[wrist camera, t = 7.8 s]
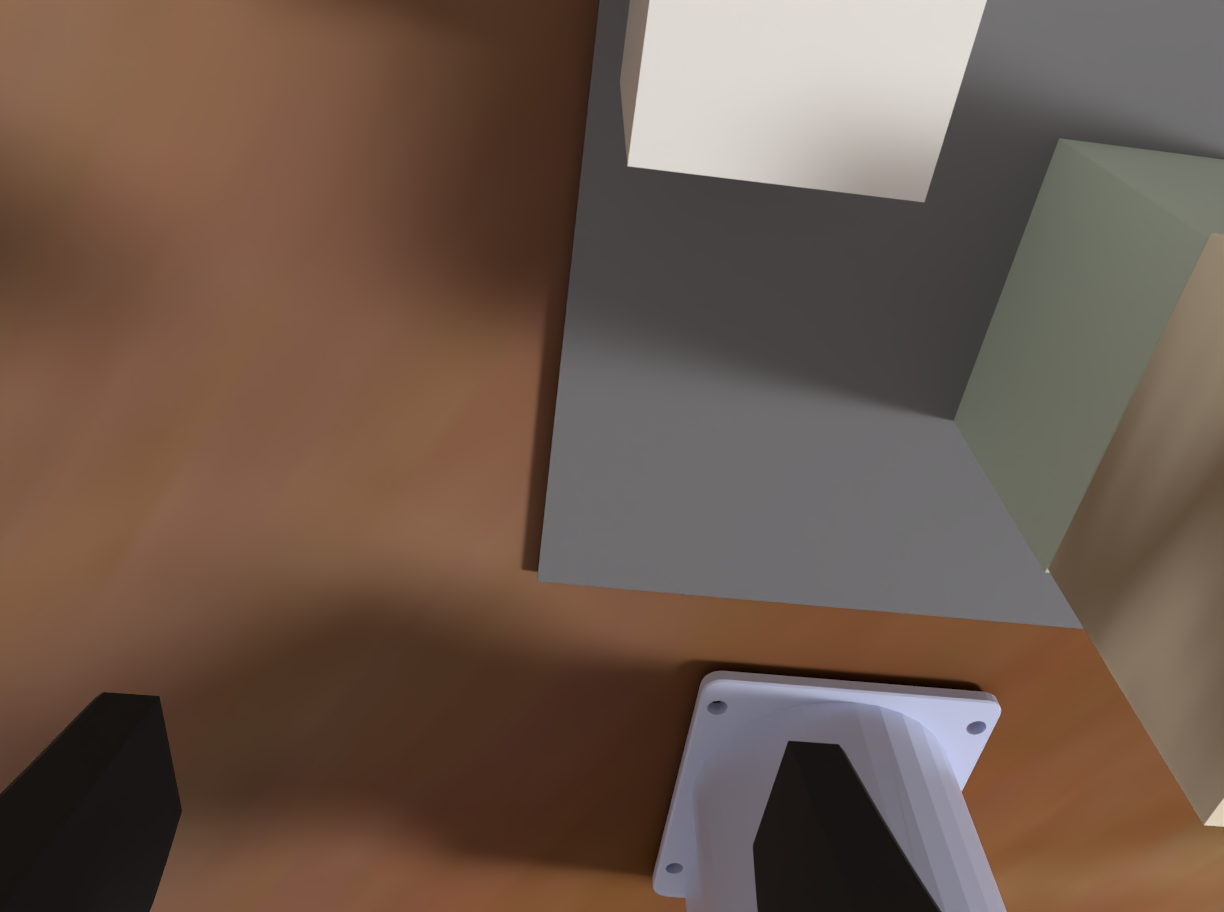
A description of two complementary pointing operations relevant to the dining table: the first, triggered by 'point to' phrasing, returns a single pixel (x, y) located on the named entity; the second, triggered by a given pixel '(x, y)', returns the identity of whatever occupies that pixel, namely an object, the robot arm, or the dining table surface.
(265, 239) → the dining table surface
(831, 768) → the robot arm
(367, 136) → the dining table surface
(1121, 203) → the sage block
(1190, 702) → the maple block
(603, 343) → the mat
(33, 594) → the dining table surface
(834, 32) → the white block
